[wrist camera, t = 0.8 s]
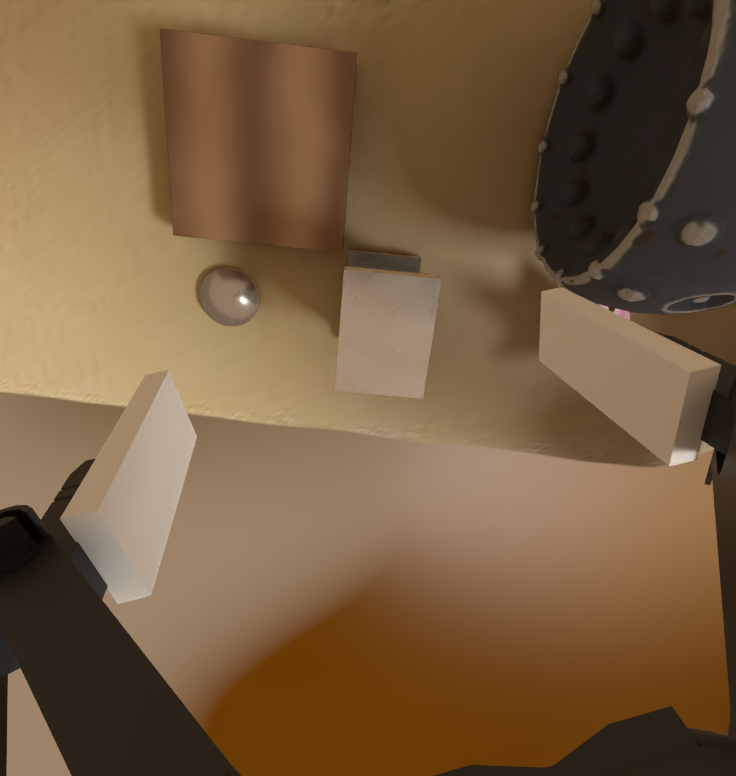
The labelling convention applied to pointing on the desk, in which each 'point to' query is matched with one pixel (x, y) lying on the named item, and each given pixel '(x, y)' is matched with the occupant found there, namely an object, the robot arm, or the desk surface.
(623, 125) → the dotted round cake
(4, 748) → the robot arm
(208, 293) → the domed puck
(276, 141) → the walnut stand
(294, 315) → the desk surface
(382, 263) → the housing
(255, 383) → the desk surface
